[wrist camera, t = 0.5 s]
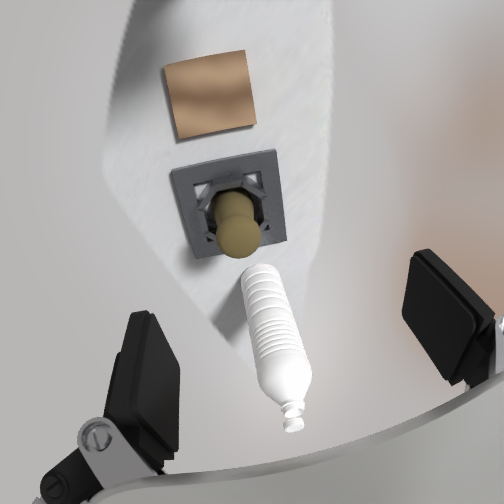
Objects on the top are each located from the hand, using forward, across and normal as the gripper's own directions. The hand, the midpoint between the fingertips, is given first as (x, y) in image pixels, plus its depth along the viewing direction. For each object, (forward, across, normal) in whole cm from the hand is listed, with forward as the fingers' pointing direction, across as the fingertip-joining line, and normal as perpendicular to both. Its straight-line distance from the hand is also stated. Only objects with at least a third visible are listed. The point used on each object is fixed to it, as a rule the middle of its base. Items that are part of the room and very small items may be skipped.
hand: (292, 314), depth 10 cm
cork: (+33, +1, +8) cm, 34 cm away
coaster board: (+32, +1, -8) cm, 33 cm away
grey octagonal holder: (+33, +1, +8) cm, 34 cm away
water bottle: (+34, -1, +23) cm, 41 cm away
